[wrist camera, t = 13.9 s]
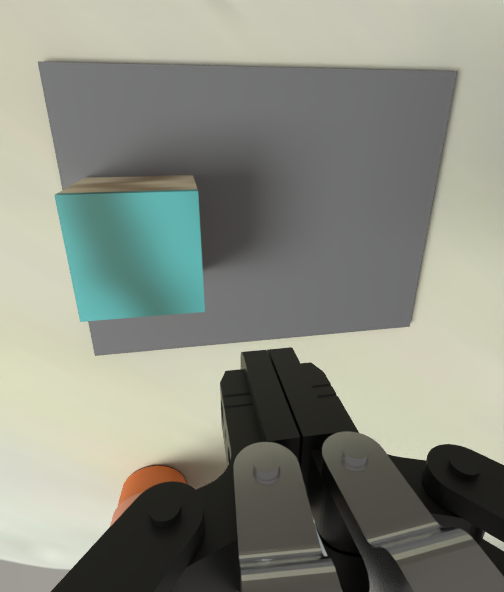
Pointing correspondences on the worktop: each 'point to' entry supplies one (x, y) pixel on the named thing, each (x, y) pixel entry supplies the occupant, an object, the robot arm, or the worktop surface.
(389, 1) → the worktop surface
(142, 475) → the cup with straw
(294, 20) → the worktop surface
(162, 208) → the birch cube
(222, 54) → the worktop surface
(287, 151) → the rubber mat
